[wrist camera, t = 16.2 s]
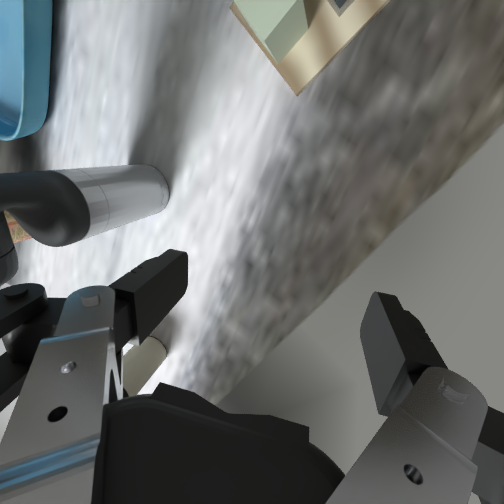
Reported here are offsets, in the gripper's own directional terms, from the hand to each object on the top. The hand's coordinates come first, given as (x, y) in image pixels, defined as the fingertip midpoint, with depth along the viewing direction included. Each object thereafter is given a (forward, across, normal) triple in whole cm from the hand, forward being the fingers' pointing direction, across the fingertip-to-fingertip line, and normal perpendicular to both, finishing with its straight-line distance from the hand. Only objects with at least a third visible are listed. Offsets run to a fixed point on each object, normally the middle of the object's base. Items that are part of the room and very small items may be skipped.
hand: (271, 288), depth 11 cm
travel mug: (+33, +29, +45) cm, 63 cm away
